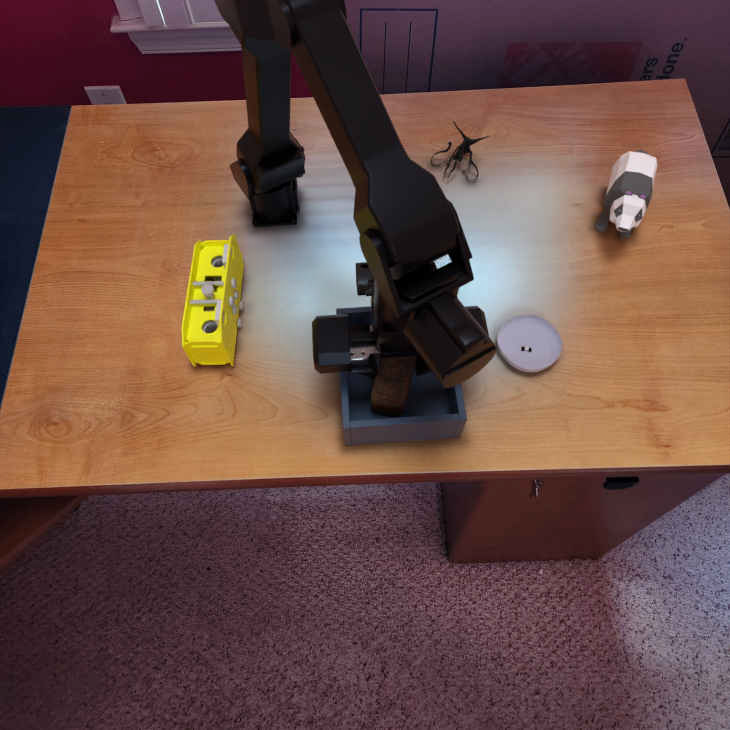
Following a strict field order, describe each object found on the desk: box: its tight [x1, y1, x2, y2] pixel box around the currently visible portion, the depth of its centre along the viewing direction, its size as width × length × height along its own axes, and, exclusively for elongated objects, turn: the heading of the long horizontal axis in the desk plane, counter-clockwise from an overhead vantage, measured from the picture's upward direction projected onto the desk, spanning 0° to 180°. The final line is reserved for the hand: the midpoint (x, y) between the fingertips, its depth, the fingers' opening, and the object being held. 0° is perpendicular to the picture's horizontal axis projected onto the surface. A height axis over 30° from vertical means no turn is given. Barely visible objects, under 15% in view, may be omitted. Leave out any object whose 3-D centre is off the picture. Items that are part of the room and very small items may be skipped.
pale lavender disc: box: [496, 313, 563, 373], centre depth 73 cm, size 8×8×2 cm
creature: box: [430, 120, 490, 183], centre depth 86 cm, size 8×5×8 cm
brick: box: [371, 356, 417, 416], centre depth 69 cm, size 11×4×5 cm, turn 165°
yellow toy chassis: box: [180, 233, 245, 368], centre depth 73 cm, size 16×6×8 cm, turn 1°
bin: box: [335, 305, 468, 447], centre depth 69 cm, size 14×16×6 cm
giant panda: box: [594, 149, 658, 240], centre depth 79 cm, size 15×6×10 cm, turn 159°
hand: (396, 373), depth 70 cm, fingers closed on brick, 5 cm apart
